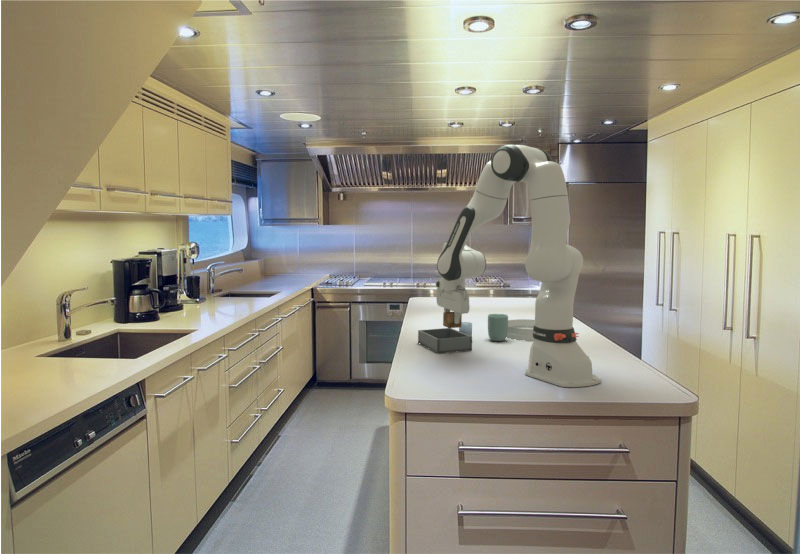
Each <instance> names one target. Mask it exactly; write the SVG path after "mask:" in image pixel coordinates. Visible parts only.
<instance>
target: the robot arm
mask: <svg viewBox="0 0 800 554" xmlns="http://www.w3.org/2000/svg"><path fill="white" fill-rule="evenodd" d="M517 182H518V183H525V185H526V186H527V187H528V195H529V205H530V216H531V236H530V238H531V239H530V246H529V250H528V251H529V252H528V255H527V256H526V259H525V261H524V266H525V267H524V268H525V271H526V272H527V273H526V274H527V275H528V276H529V277H530V278H531V279H532V280H534V281H537V282H540V283H541V285H540V288H539V292H538V294H537V296H536V299H535V304H534V306H535V307H534V320H535V325H534V326H533V337H534V341H532V345H531V346H530V350H529V356H528V357H529V358H528V367H527V369H526V370H525V371H524V375H525V376H528V377H530V378H535V379H537V380H541V381H544V382H546V383H549V384H553V385H556V386H557V387H558V386H559V387H562V388H579V387H589V386H594V385H595V386H596V385H598V384H601V382H602V379H601V378H600V377H599V376H597V375H595V374H593V364H592V363H593V362H592V360H591V359H590V356H589V355H587V354H586V353H585V351H584V349H583V348H581V346H580V345H579V344H578V342H577V338H578V337H579V332H575V328H574V327H573V324H574V304H575V303H574V302H575V295H576V291H577V286H578V282H579V277H580V273H581V270H582V268H583V264H584V257H583V255H582V253H581V252H580V250H578V249H577V248H576V247H574V246H572V245H569V244H567V239H568V231H569V227H570V225H571V216H570V215H571V214H570V203H569V196H568V187H567V181H566V178H565V174H564V170H563V168H562V166H561V165H560V164H559V163H558V162H556V161H553V158H552V157H551V155H550V153H549V152H547V151H545V150H544V149H542V148H539V147H532V146H528V145H525V144H521V145H520V144H516V145H515V144H505V145H501V146H500V147H498V148H497V149H496V150H495V151H494V152H493V153H492V156H491V159H490V160H489V161H487V163H486V164H485V165H484V167H483V168H482V171H481V173H480V175H479V178H478V179H477V183H476V186H475V189H474V192H473V195H472V197H471V199H470V201H469V202H468V204H467V205H466V206H465V207H464V208H463V209H462V210H461V211H460V213H459V214H458V217H457V218H456V219H457V220H456V222H455V224H454V227H453V229H452V231H451V232H450V233H451V234H450V235H449V238H448V240H447V241H445V242H444V243H443V245H442V249H441V253H440V255H439V257H438V259H437V262H436V269H437V272H438V274H439V276H440V279H439V280H436V282H435V288H436V291H435V293H436V295H435V297H436V299H435V300H436V304H437V306H438V307H441V308H443V312H454V314H455V317H454V318H453V323H455V324H459V319H460V317H461V314H462V315H463V314H469V312H470V297H469V296H470V295H469V292H468V291H467V290H466V279H472V278H477V277H481V276H482V275H484V273H485V272H486V270H487V269H486V268H487V260H486V257H485V254H483V253H482V251H479V250H475V249H473V248H472V247H470V246H468V245H467V243H468V241H469V238H470V236H471V234H472V232H473V231H475V230H476V228H479V227H480V226H482V225H484V224H485V223H488V222H491V221H494V220H495V219H497V218H499V217H500V216H501V214H502V213H503V211H504V210H505V207H506V205H507V201H508V198H509V196H510V191H511V189H512V186H513V185H514V184H516V183H517Z"/></svg>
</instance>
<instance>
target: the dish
mask: <svg viewBox="0 0 800 554" xmlns="http://www.w3.org/2000/svg"><path fill="white" fill-rule="evenodd" d="M534 325H535V319H522V318H521V319H510V320H509V319H508V333H507V338H506V339H509V338H511V339H510V340H513V339H516V341H520V340H525V341H524V342H534V337H533V326H534Z"/></svg>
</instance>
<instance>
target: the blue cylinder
mask: <svg viewBox="0 0 800 554" xmlns="http://www.w3.org/2000/svg"><path fill="white" fill-rule="evenodd" d="M458 331H459V332H462V333H464V334H467V335H469V336H472V337H473V323H472V322H470V321H469V322H468V321H462V323H461V327H458Z"/></svg>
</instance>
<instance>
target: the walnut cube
mask: <svg viewBox="0 0 800 554" xmlns="http://www.w3.org/2000/svg"><path fill="white" fill-rule="evenodd" d="M442 314H443V315H442V319H443V320H442V323H443V324H442V325H443V326H444V328H452V329H456V328H458V329H459V327H461V323H462V322H463V321H462V319H463V317H462V316H463V314H461V317H460V319H459V324H455V323H453V318H454V317H455V314H454V311H450V312H444V311H443V313H442Z"/></svg>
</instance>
